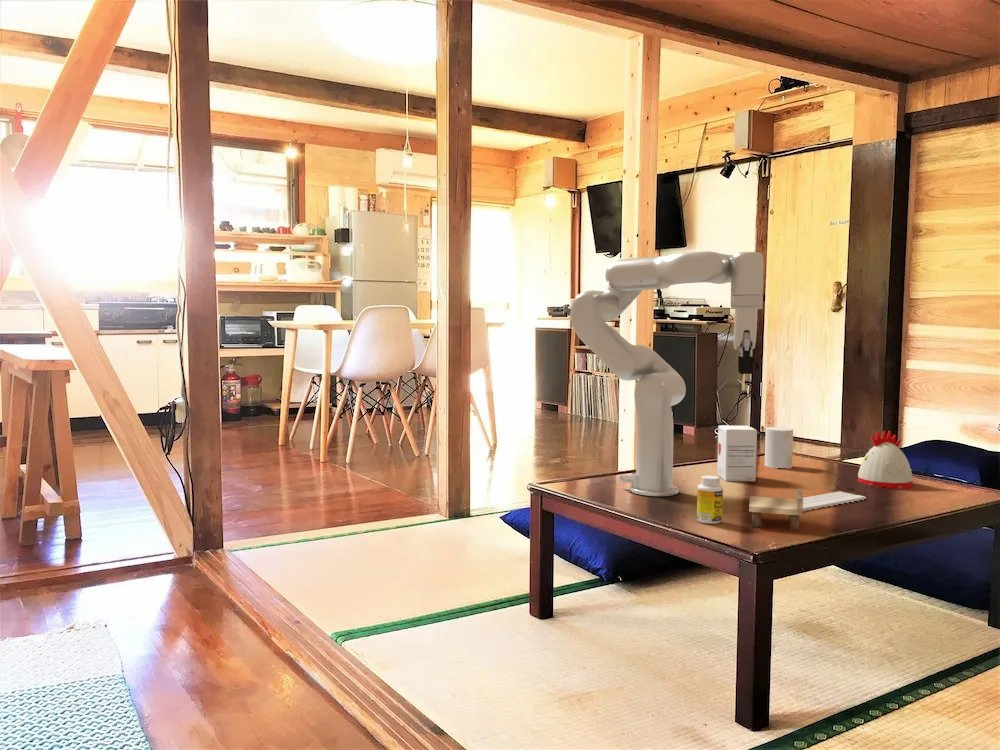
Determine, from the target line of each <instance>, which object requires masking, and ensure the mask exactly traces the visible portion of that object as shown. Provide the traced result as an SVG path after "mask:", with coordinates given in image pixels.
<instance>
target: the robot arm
mask: <svg viewBox="0 0 1000 750" xmlns="http://www.w3.org/2000/svg"><path fill="white" fill-rule="evenodd" d="M605 281H606V283H607V287H606V288H605V289H604V290H585V291H582V292H581V293H578V294H577V295H576V296H575V298H574V299H573V301H572V303H571V306H570V313H569V314H570V315H569V317H570V323H571V326H572V329H573V331H574V333H575V334H576V335H577V337H578V338H579V339H580V341H582V342H583V344H584V345H585V346H586V347H587V348H589V350H591V352H593V353H594V354H595V356H596V357H597V358H598V359H599V360H600V361H602V363H603V364H604V365H605V366H606V367H607V368H608V369H609V370H610V371H611V372H612V373H613V374H614V375H615V376H616V377H618V378H619V379H621V381H622V380H623V381H628V382H629V381H630V382H631V381H637V382H636V384H635V386H634V396H633V397H634V404H635V411H636V412H635V413H636V458H635V459H636V462H635V463H636V465H635V469H636V470H635V473H632V474H631V475H628V474H620V475H619V482H620V483H621V482H622V483H625V484H629V483H630V484H631V485H630V486H629V490H630V492H632V493H633V494H635V495H641V496H647V497H671V496H674V495H675V496H676V495H678V493H679V487H677V486H676V485H673V483H674V482H673V475H674V472H673V471H674V470H673V468H674V467H673V466H674V465H673V464H674V417H673V410H672V407H673V406H675V405H678V404H679V403H680V402H681V401H683V399H684V398H685V396H686V392H687V389H686V387H687V386H686V384H685V380H684V379H683V377H682V376H681V375H680V374H679V373H678V372H677V370H675V369H674V368H673V367H672V365H670V364H669V363H668V362H666V360H664V359H663V357H661V355H659V354H658V353H657V352H656V351H655V350H653V349H652V348H650V347H648V346H645V345H640V344H637V345H635V344H632V343H631V342H629V341H628V340H627V339H625V338H624V337H623V336H622V335H621V334H620V333H619V332H618V331H617V330H616V329H615V328H613V327H612V326H610V325H609V324H608V323H607V322H611V321H614V320H615V319H617V318H618V317H619V316H621V315H622V314H623V313H624V312H625V310H626V309H627V308H629V306H630V305H631V304H632V303H633V302H634V301H635V300H636V299H637V298H638V296H639V295H640V294H641V293H642V292H643V291H649V290H662V289H667V288H669V287H671V286H675V285H680V284H681V285H682V284H697V283H709V284H718V285H722V284H728V283H730V310H734V319H733V320H734V322H733V348H734V349H735V350H738V349H739V350H738V351H739V352H738V353H739V355H738V357H737V358H738V359H737V361H738V362H737V366H738V367H737V370H738V373H739V374H740V375H753V373H754V357H753V350H754V349H755V348H756V342H757V341H756V340H757V332H758V331H757V330H758V326H757V325H758V310H762V309H763V294H764V293H763V289H764V256H763V254H761V253H760V252H756V251H742V252H741V251H740V252H736V253H734V254H727V253H726V254H724V253H719V252H715V251H708V250H707V251H697V252H696V251H694V252H685V253H684V252H683V253H675V254H669V255H668V254H665V255H659V256H657V255H656V256H648V257H647V256H646V257H635V258H634V257H633V258H623V259H618V260H615V261H612V262H611V263H610V264H608V266H607V268H606V270H605ZM738 347H739V348H738Z"/></svg>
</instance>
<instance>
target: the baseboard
mask: <svg viewBox="0 0 1000 750" xmlns="http://www.w3.org/2000/svg"><path fill="white" fill-rule="evenodd" d="M836 489H838V486H836ZM836 489H834V488H833V489H832V492H828V493H823V494H822V493H821V494H816V495H811V496H807V497H806V496H805V497H803V511H805V512H807V511H806V510H810V511H812V510H811V509H815V510H818V509H817V508H821V507H826V508H828V507H827V506H831V507H834V506H833V505H837V506H839V505H838V504H842V505H845V504H844V503H847V504H850V503H849V502H852V503H855V502H854V501H858V502H860V501H859V500H863V501H865V500H864V499H866V498H867V497H866V496H864V495H867V492H865V493H863V494H864V495H860V494H854V493H849V492H843V491H842V488H840V487H839V489H841V491H836ZM844 490H845V491H847V490H848V491H850V492H851V491H852V492H855V493H856V491H855V489H854V488H850V487H849V488H848V487H847V488H846V489H844ZM858 493H861V492H860V491H858ZM821 509H822V508H821Z"/></svg>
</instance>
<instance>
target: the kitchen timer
mask: <svg viewBox="0 0 1000 750" xmlns="http://www.w3.org/2000/svg"><path fill="white" fill-rule="evenodd" d="M870 437H871V441H872V443H873V445H874V446H872V447H871V448H870V449H869V450H868V451H867V452H866V454H865V456H863V457H864V458H863V460H862V461H861V464H860V467H859V470H858V473H857V482H858V481H859V482H861V483H864V484H868V485H874V486H879V487H886V488H885V489H888V488H893V489H894V490H902V489H903V490H904V489H905V490H906V489H911V488H912V487H913V485H914V484H913V483H914V480H913V479H914V477H913V473H912V470H911V466H910V462H909V461H908V458H907V457H906V455H905V454H904V452H903V451H902V450H901V449H900V448H899V446H900V444H901V442H902V439H901V438H899V439H898V440H897V442H896V439H897V435H896V434H893V436H892V432H891V431H890V430H888V431H887V433H886V431H885V430H882V434H881V435H880V433H879V431H878V430H877V431H876V432H875V437H874V436H873V435H871V436H870ZM910 487H911V488H910ZM893 489H892V490H893Z"/></svg>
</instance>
